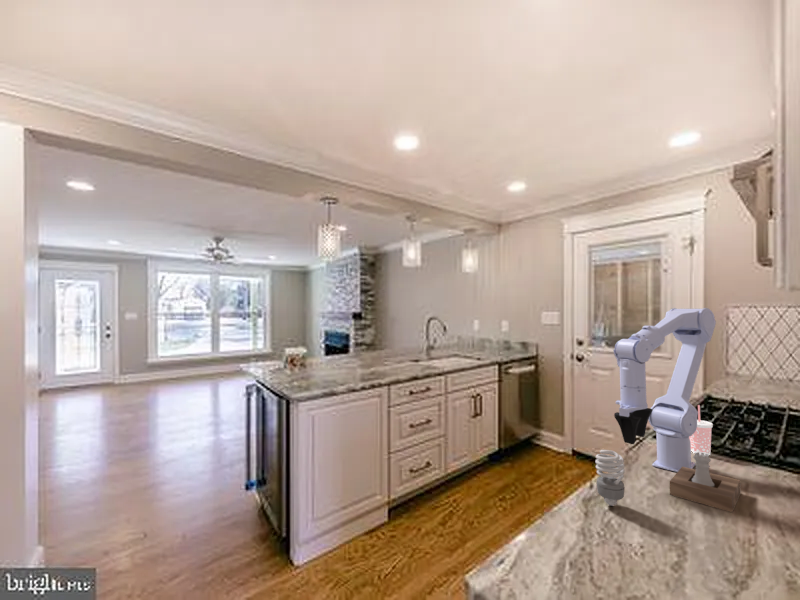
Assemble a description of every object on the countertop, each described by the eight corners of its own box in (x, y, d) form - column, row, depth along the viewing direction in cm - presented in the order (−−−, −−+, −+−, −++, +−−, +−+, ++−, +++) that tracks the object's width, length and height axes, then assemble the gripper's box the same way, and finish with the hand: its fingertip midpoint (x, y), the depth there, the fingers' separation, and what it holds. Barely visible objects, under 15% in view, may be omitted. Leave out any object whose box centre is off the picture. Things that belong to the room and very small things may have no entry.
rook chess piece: (720, 494, 87) (719, 458, 87) (698, 493, 88) (697, 457, 88) (707, 485, 92) (706, 451, 92) (686, 484, 92) (685, 450, 92)
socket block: (682, 478, 98) (682, 466, 98) (740, 493, 89) (740, 480, 90) (669, 494, 89) (669, 481, 89) (732, 512, 81) (731, 497, 81)
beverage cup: (683, 449, 118) (681, 402, 118) (705, 449, 117) (703, 402, 117) (695, 456, 112) (693, 407, 112) (719, 457, 111) (717, 407, 111)
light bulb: (590, 502, 86) (589, 448, 87) (608, 497, 88) (606, 444, 89) (613, 514, 81) (611, 456, 81) (631, 509, 83) (630, 452, 84)
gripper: (625, 380, 107) (626, 429, 107) (605, 388, 98) (607, 442, 97) (654, 383, 102) (656, 435, 102) (637, 392, 92) (638, 449, 92)
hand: (634, 439), depth 99 cm, fingers open, 7 cm apart
